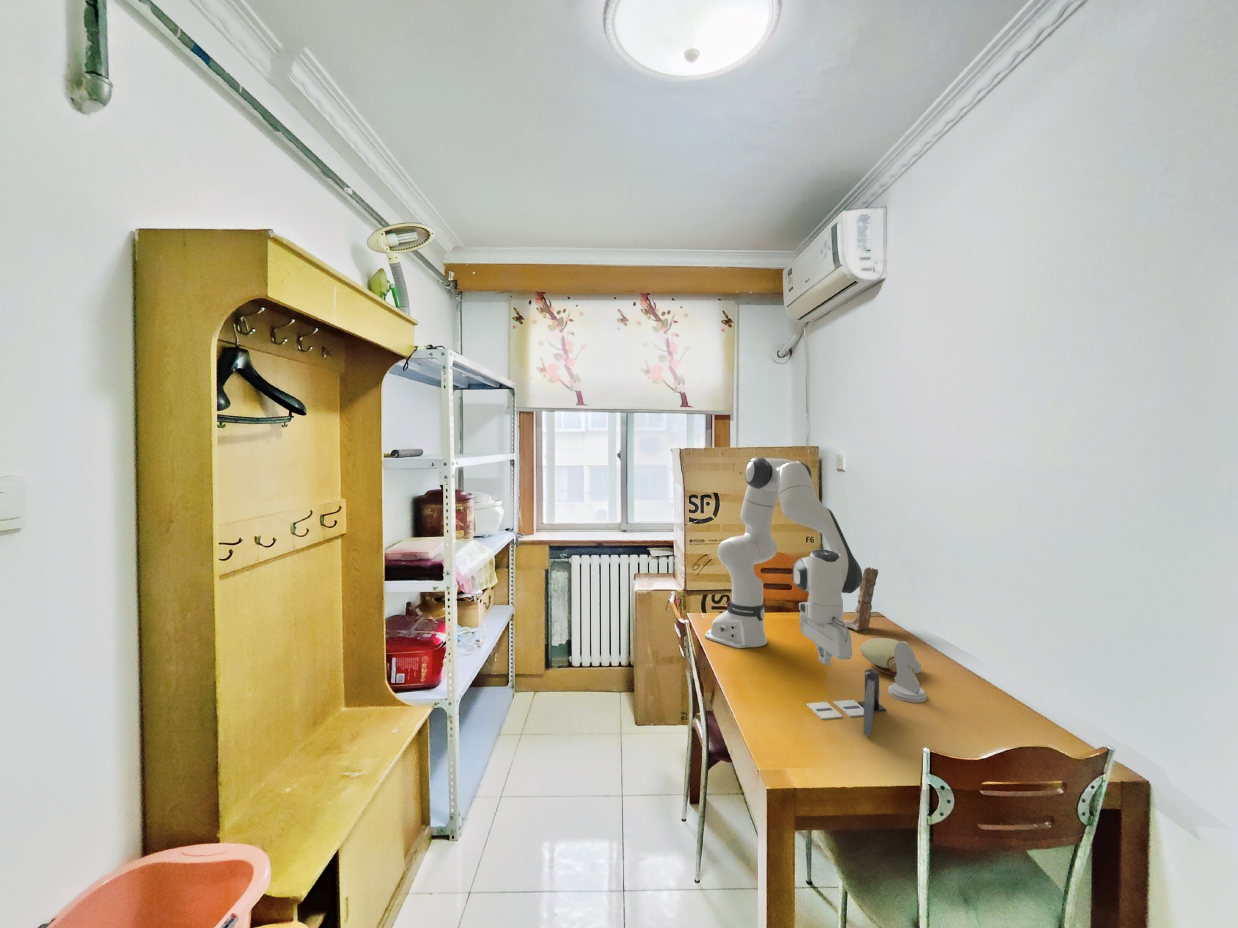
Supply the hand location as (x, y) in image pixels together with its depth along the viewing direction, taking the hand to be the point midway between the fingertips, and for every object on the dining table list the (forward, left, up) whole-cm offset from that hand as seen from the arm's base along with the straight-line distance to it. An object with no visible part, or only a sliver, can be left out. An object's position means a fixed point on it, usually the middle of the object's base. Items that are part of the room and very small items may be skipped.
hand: (824, 662), depth 144 cm
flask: (+10, +39, -13) cm, 42 cm away
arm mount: (+10, +10, -13) cm, 19 cm away
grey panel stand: (+11, +2, -13) cm, 17 cm away
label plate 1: (0, 0, -13) cm, 13 cm away
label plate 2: (+6, +5, -13) cm, 15 cm away
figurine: (-7, +78, -13) cm, 79 cm away
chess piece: (+17, +24, -13) cm, 32 cm away
